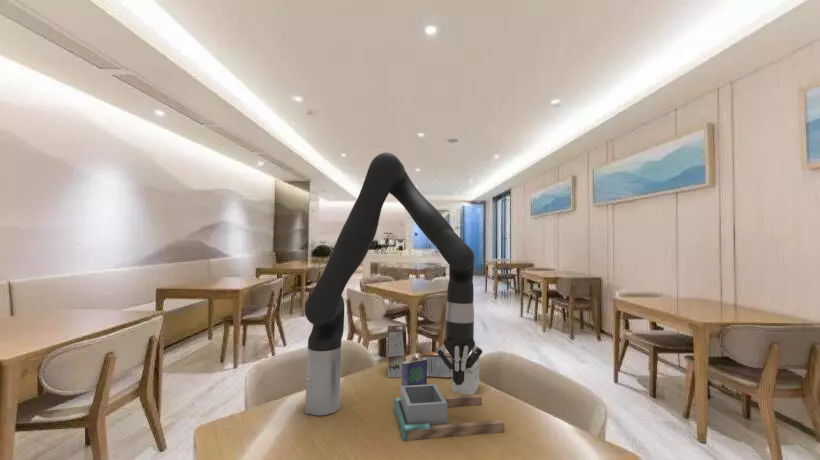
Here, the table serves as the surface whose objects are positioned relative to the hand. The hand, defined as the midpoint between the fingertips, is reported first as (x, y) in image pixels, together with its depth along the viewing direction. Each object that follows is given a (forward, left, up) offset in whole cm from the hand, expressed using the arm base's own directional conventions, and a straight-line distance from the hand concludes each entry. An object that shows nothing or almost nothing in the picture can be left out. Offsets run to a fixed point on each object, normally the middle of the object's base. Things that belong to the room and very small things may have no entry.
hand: (458, 383), depth 95 cm
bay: (-3, 0, -9) cm, 10 cm away
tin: (+2, +30, -10) cm, 32 cm away
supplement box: (+8, +18, -10) cm, 22 cm away
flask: (-8, +22, -10) cm, 25 cm away
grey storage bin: (-10, 0, -9) cm, 13 cm away
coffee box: (-12, +36, -10) cm, 39 cm away
